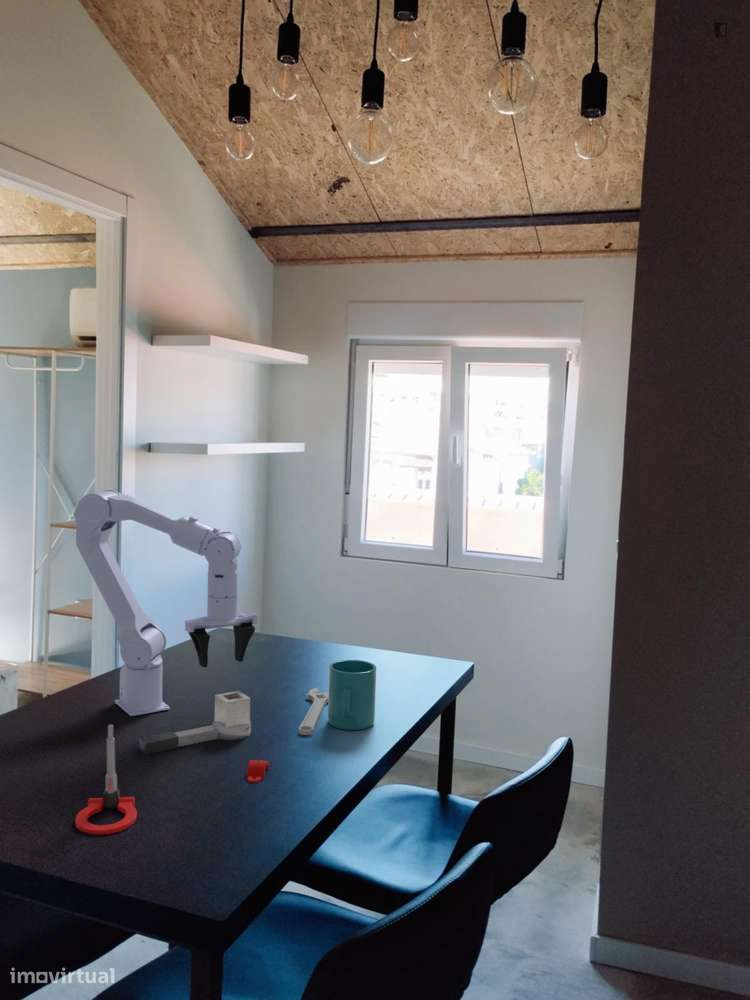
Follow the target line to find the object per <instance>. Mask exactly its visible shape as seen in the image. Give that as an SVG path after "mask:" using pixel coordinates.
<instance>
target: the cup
mask: <svg viewBox="0 0 750 1000" xmlns="http://www.w3.org/2000/svg"><path fill="white" fill-rule="evenodd" d="M328 667H329V669H328V692H329V697H328V704H327V705H328V708H327V721H328V723H329V724H330V725H331V726H332V727H334V728H337V729H339V730H343V729H345V730H344V731H361V730H365V729H368V728H370V727H372V725H373V724H374V723H375V718H376V688H377V687H376V685H377V682H376V681H377V666H376V665H375V664H374V663H372V662H369V661H365V660H361V659H342V660H337V661H334V662H332V663H330V664H329V666H328ZM360 729H361V730H360Z"/></svg>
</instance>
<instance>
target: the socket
mask: <svg viewBox="0 0 750 1000" xmlns="http://www.w3.org/2000/svg"><path fill="white" fill-rule="evenodd" d="M214 720H215V722H217V723H218V724H219V725H221V726H222V727H223V728H225V729H230V728H235V727H240V726H245V725H249V724H250V721H251V697H249V696H248V695H246V694H245V693H243V692H241V691H240V690H236V691H229V692H224V693H218V694H214Z"/></svg>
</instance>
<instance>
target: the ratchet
mask: <svg viewBox="0 0 750 1000" xmlns="http://www.w3.org/2000/svg"><path fill="white" fill-rule="evenodd" d="M250 733H252V721H251V720H250V724H249V725H245V726H240V727H235V728H230V729H225V728H223V727H222V726H221V725H219V724H218V723H217V722H215V719H214V720H213V722H212V724H211V725H206V726H200V727H196V728H192V729H185V730H181V731H176V732H173V731H167V732H162V733H157V734H153V735H152V734H151V735H148V736H142V737H139V738H138V743H139V745H138V749H139V748H140V749H141V750H142V751H143V752H144V753H145V754H146V755H149V754H148V753H151V754H154V753H153V752H156V753H159V752H158V751H161V752H164V751H163V750H165V751H169V750H168V749H170V750H174V749H173V748H175V749H179V747H180V746H181V747H184V746H185V745H186V746H190V745H194V743H195V744H198V743H199V742H200V743H204V741H205V742H208V741H214V740H221V739H223V741H237V739H239V740H242V739H246V738H247V736H248V737H249V736H250V735H251V734H250ZM200 743H199V744H200ZM186 746H185V747H186ZM140 749H139V750H140ZM141 750H140V751H141ZM142 751H141V752H142ZM143 752H142V753H143ZM144 753H143V754H144ZM145 754H144V755H145Z"/></svg>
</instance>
